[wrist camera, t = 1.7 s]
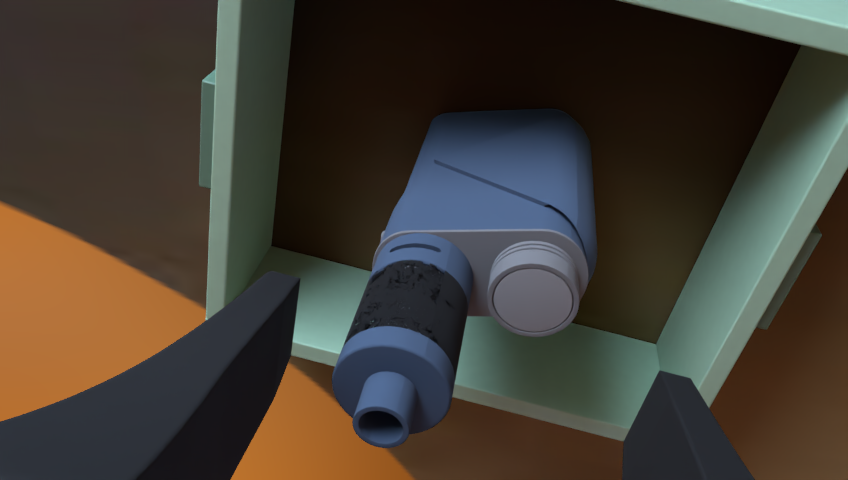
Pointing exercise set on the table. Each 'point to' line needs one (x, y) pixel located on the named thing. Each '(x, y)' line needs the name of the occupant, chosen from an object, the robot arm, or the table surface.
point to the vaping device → (468, 261)
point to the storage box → (574, 345)
